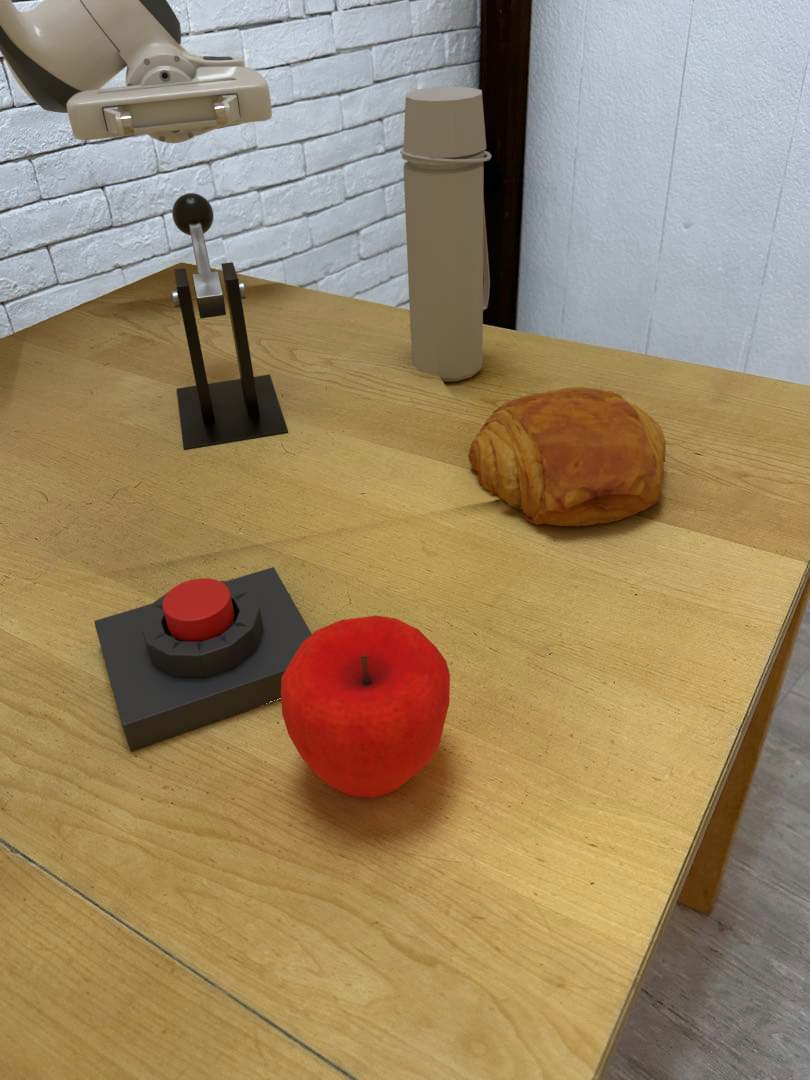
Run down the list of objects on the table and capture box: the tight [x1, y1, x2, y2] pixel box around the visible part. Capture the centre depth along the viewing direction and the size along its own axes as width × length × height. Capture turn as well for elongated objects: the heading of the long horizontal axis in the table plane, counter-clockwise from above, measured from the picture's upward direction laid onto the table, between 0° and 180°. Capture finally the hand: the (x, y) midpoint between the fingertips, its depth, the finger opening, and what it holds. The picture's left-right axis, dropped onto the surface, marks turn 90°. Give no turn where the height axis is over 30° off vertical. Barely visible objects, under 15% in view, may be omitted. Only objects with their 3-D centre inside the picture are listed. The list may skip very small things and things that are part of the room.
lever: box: [171, 192, 227, 319], centre depth 79 cm, size 13×4×4 cm, turn 15°
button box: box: [93, 566, 313, 753], centre depth 56 cm, size 12×10×4 cm
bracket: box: [171, 261, 289, 451], centre depth 79 cm, size 12×9×14 cm
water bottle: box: [399, 85, 492, 383], centre depth 83 cm, size 9×8×25 cm
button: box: [162, 577, 234, 642], centre depth 54 cm, size 4×4×2 cm
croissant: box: [467, 386, 667, 527], centre depth 70 cm, size 14×16×8 cm
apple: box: [280, 615, 451, 799], centre depth 47 cm, size 9×9×8 cm
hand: (174, 121), depth 87 cm, fingers open, 8 cm apart
